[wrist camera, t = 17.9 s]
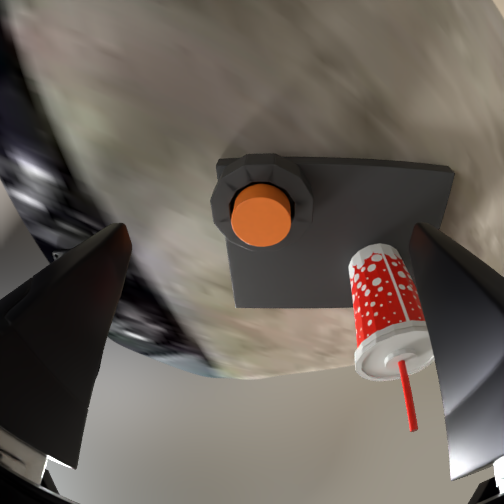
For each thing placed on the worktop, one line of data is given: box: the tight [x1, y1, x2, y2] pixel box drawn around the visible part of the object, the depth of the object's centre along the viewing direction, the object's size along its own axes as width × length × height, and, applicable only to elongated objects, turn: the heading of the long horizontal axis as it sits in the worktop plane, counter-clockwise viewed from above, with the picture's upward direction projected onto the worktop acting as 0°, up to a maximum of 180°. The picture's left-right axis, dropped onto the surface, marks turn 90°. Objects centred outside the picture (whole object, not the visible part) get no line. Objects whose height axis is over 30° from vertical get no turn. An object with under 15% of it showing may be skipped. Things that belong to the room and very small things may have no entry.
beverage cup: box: [348, 243, 435, 432], centre depth 19 cm, size 6×6×14 cm
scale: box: [210, 154, 455, 308], centre depth 23 cm, size 17×15×3 cm
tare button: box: [231, 184, 291, 247], centre depth 19 cm, size 4×4×2 cm
